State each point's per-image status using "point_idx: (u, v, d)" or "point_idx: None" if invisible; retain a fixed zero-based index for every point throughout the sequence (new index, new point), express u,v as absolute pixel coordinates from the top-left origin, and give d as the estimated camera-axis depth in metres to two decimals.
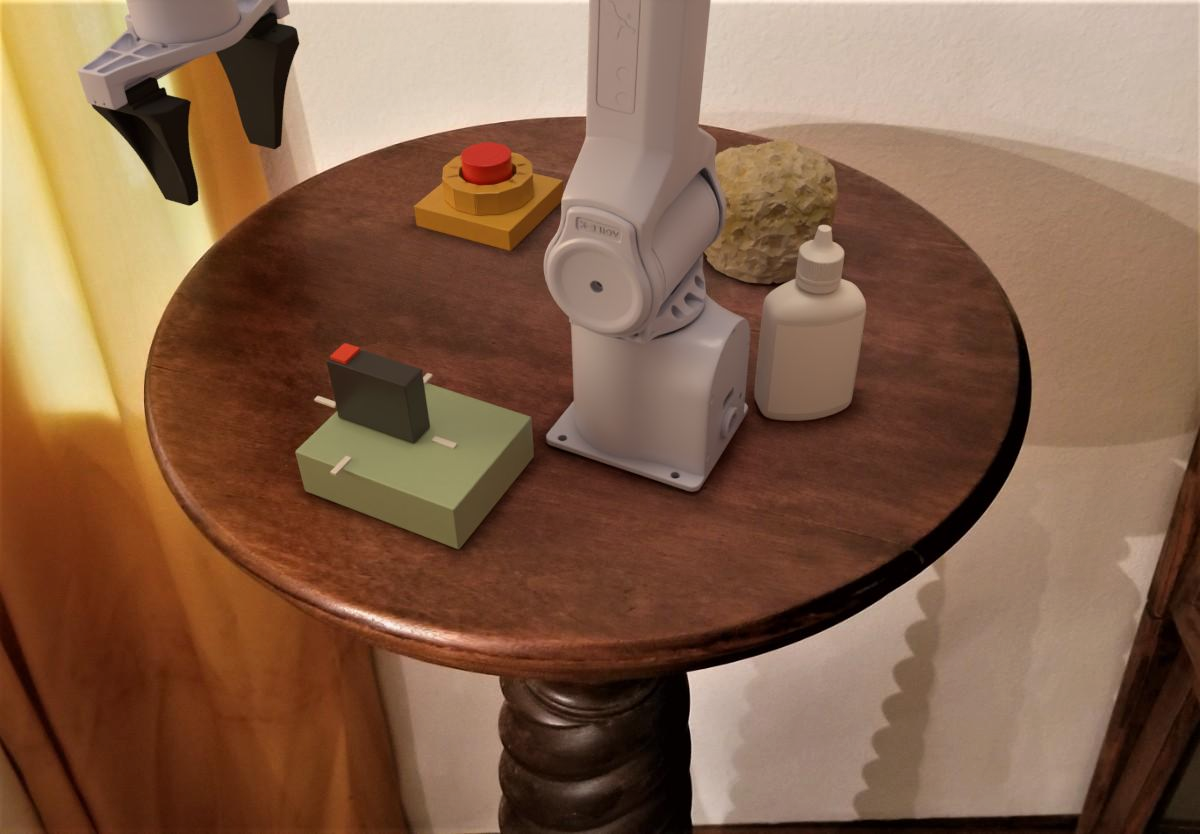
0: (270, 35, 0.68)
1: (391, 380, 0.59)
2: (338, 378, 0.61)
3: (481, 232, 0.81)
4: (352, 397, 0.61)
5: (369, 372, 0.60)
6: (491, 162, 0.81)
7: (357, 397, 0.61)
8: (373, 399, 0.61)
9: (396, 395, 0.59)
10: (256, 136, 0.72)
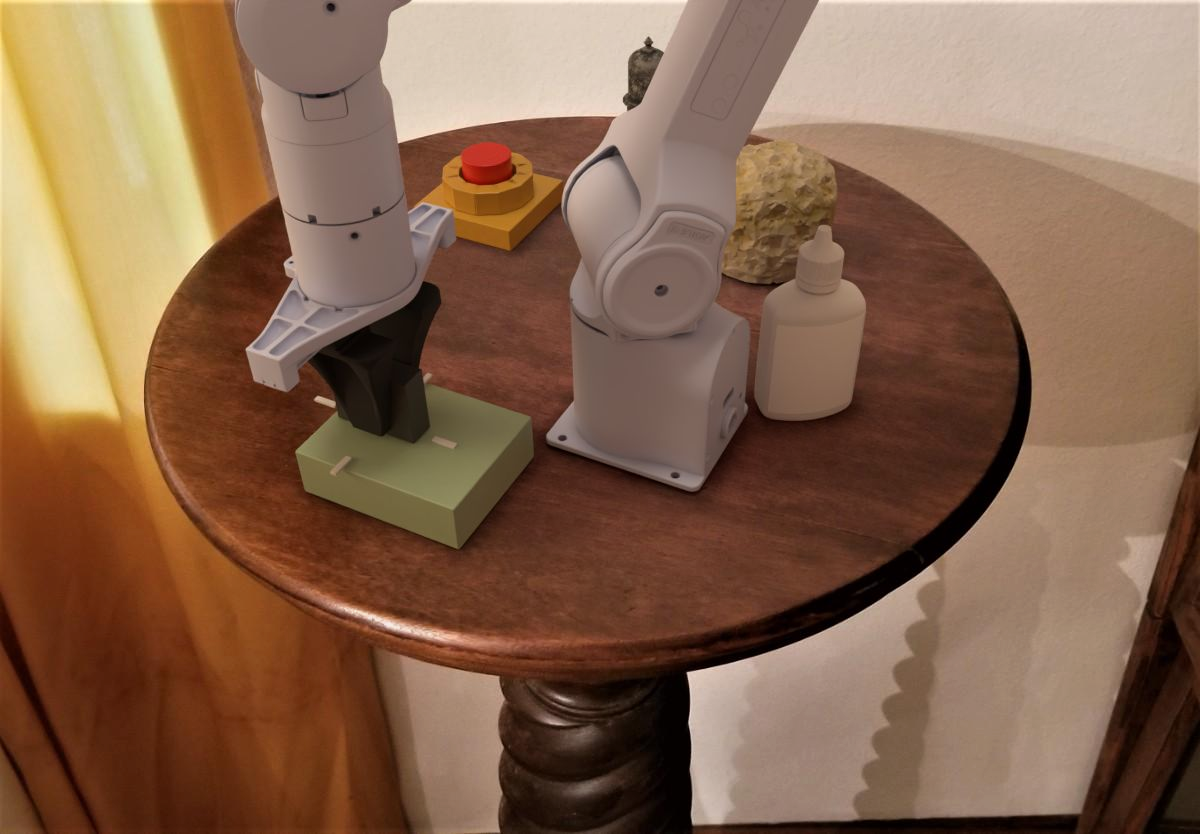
0: None
1: (391, 380, 0.59)
2: None
3: (481, 232, 0.81)
4: None
5: None
6: (491, 162, 0.81)
7: None
8: None
9: (396, 395, 0.59)
10: None
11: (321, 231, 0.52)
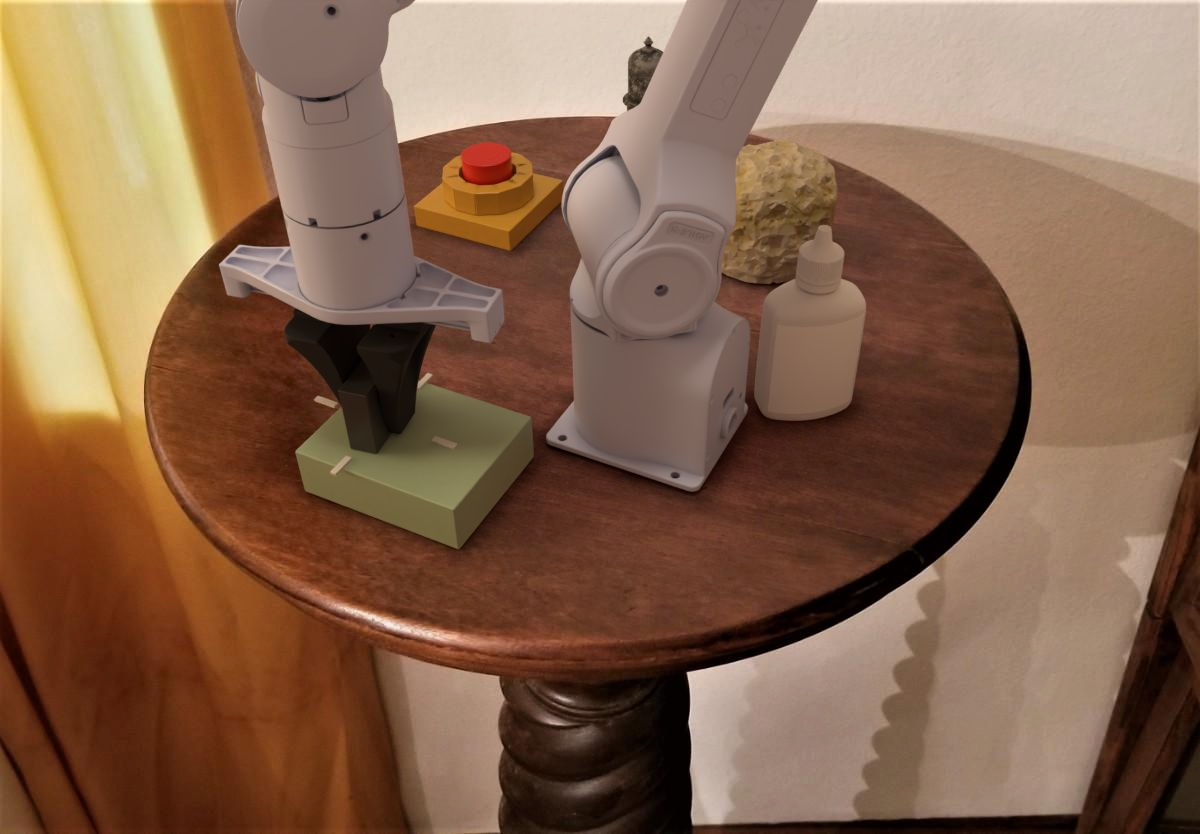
0: (380, 335, 0.56)
1: (347, 380, 0.59)
2: None
3: (481, 232, 0.81)
4: None
5: (360, 364, 0.60)
6: (491, 162, 0.81)
7: None
8: None
9: None
10: None
11: None
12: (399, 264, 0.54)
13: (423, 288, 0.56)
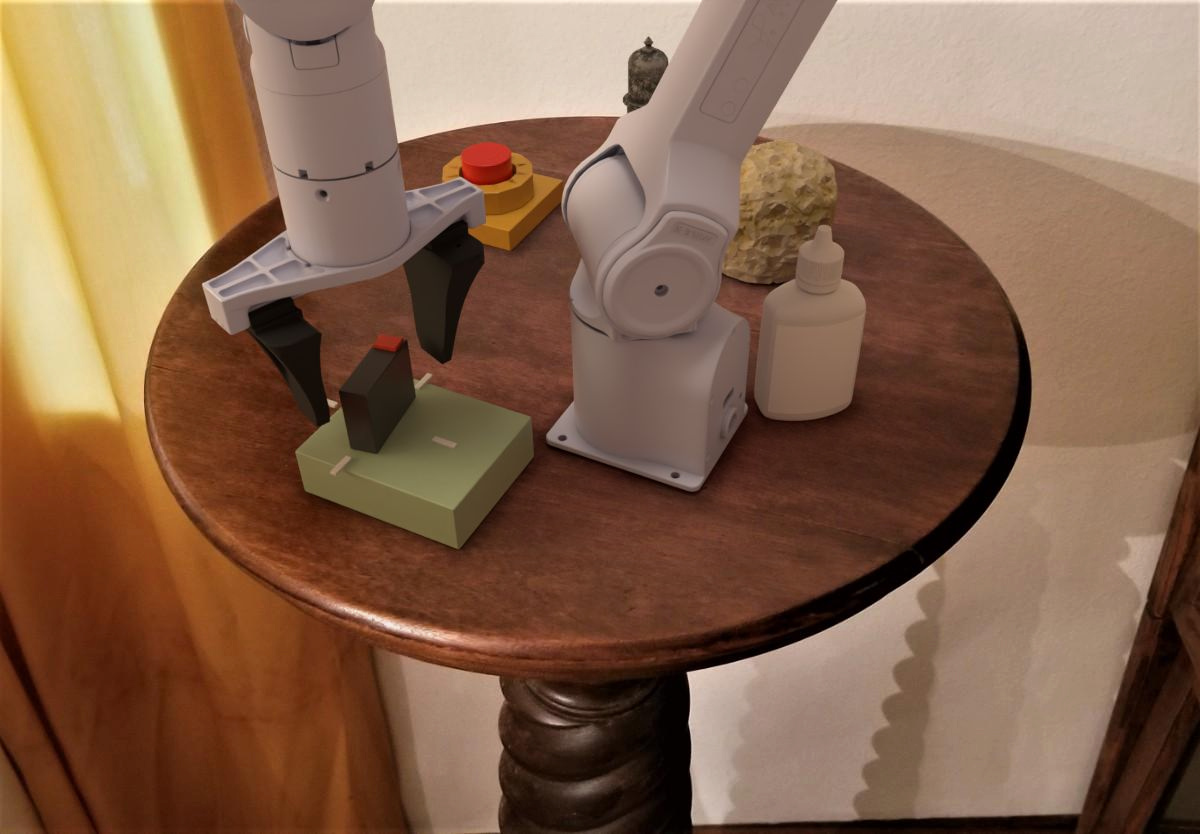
0: (450, 251, 0.57)
1: (347, 380, 0.59)
2: None
3: (481, 232, 0.81)
4: None
5: (360, 364, 0.60)
6: (491, 162, 0.81)
7: None
8: None
9: None
10: (427, 344, 0.62)
11: (291, 182, 0.50)
12: None
13: (412, 208, 0.57)
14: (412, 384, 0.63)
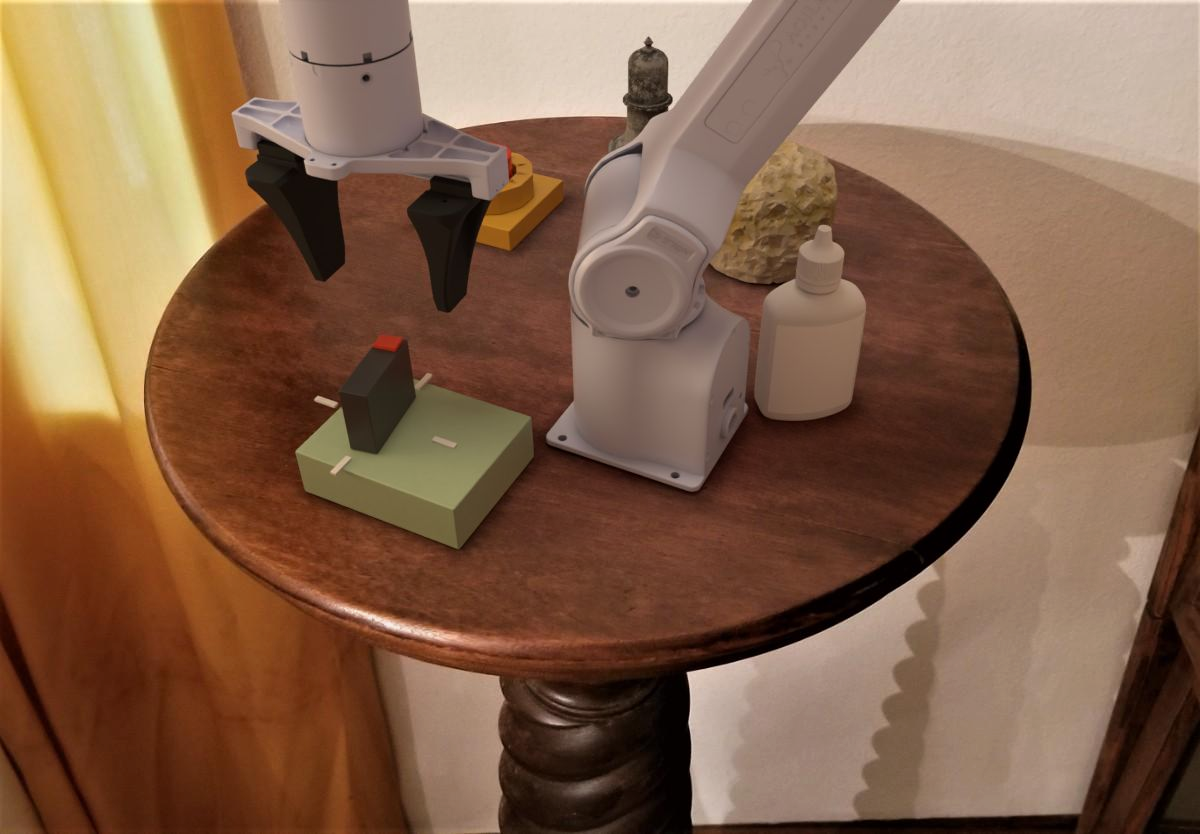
0: None
1: (347, 380, 0.59)
2: None
3: (481, 232, 0.81)
4: None
5: (360, 364, 0.60)
6: None
7: None
8: None
9: None
10: (330, 266, 0.62)
11: (411, 50, 0.53)
12: None
13: None
14: (412, 384, 0.63)
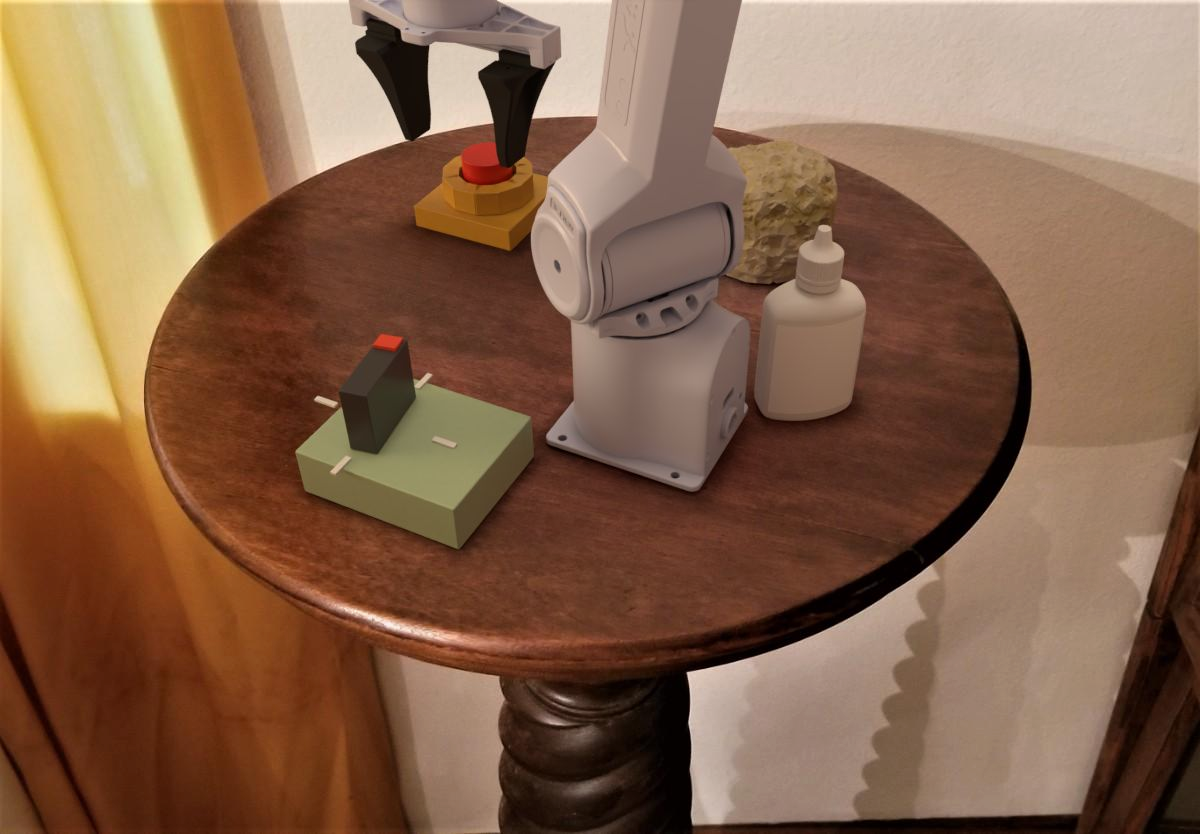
0: None
1: (347, 380, 0.59)
2: None
3: (481, 232, 0.81)
4: None
5: (360, 364, 0.60)
6: (491, 162, 0.81)
7: None
8: None
9: None
10: (417, 128, 0.77)
11: None
12: None
13: None
14: (412, 384, 0.63)
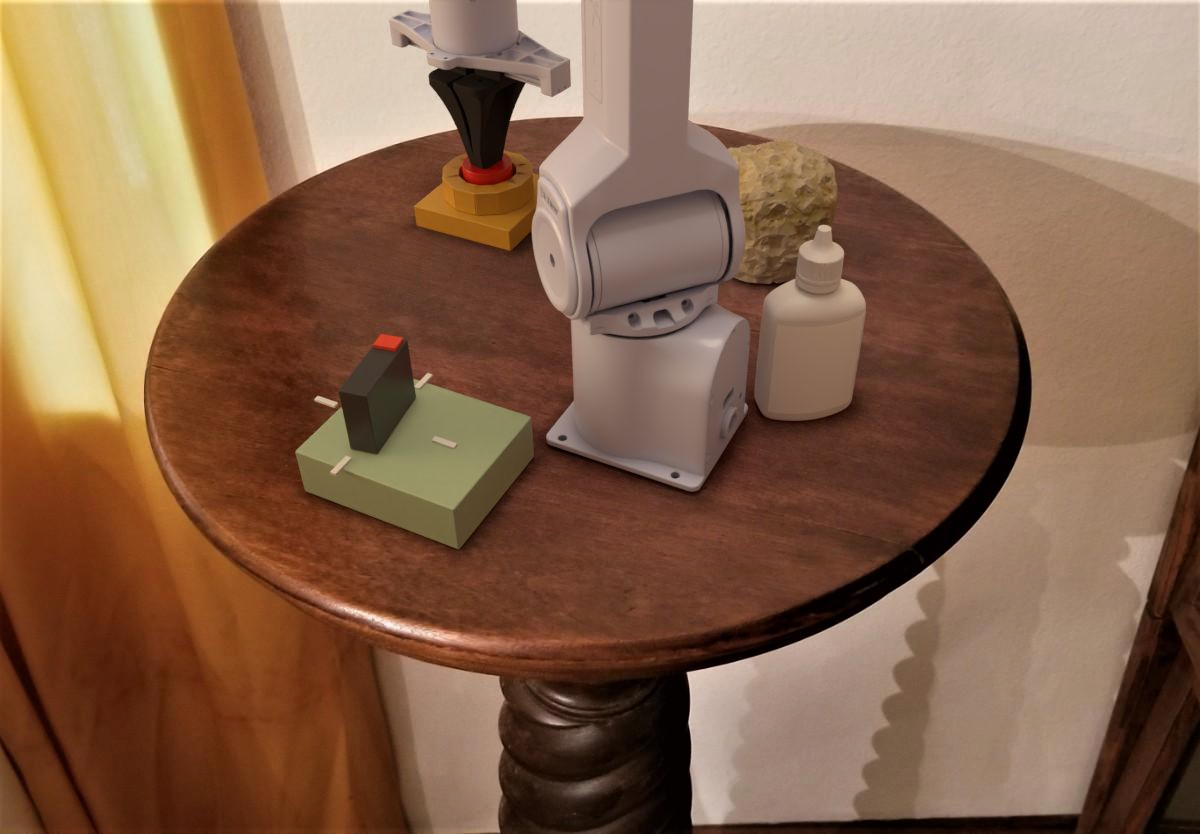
0: None
1: (347, 380, 0.59)
2: None
3: (481, 232, 0.81)
4: None
5: (360, 364, 0.60)
6: (491, 170, 0.82)
7: None
8: None
9: None
10: None
11: None
12: None
13: None
14: (412, 384, 0.63)
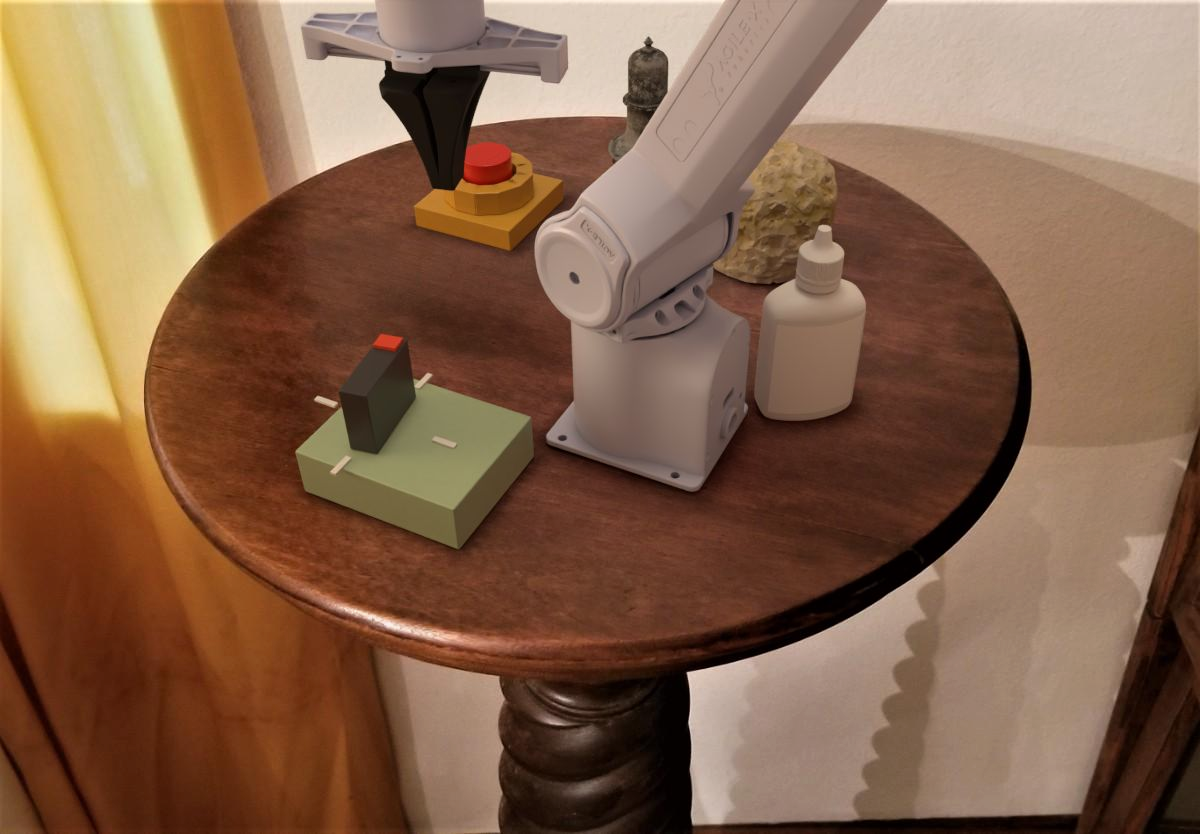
0: None
1: (347, 380, 0.59)
2: None
3: (481, 232, 0.81)
4: None
5: (360, 364, 0.60)
6: (491, 162, 0.81)
7: None
8: None
9: None
10: None
11: None
12: None
13: (371, 23, 0.62)
14: (412, 384, 0.63)
